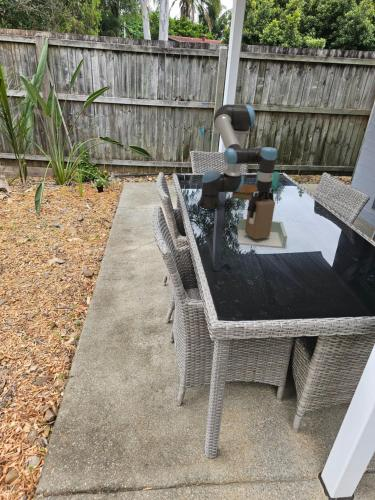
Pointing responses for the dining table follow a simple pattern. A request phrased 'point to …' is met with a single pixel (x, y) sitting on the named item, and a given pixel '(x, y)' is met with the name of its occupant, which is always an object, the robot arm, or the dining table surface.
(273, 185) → the basket
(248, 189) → the diary
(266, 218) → the wooden block
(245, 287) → the dining table surface
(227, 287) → the dining table surface
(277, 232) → the corner tray
